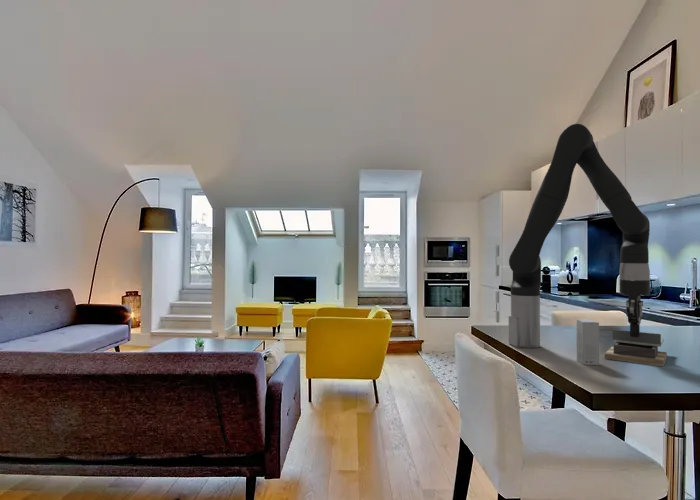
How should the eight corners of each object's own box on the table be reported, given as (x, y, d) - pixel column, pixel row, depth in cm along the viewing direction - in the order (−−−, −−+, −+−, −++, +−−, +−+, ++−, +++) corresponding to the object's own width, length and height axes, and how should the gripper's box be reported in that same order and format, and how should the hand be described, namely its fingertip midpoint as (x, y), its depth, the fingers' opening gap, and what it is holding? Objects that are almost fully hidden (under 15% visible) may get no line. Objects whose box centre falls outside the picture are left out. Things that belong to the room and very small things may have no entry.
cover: (660, 346, 122) (660, 334, 122) (612, 341, 130) (612, 329, 130) (663, 340, 131) (663, 328, 132) (618, 335, 139) (618, 325, 139)
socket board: (663, 366, 116) (663, 351, 116) (604, 358, 125) (604, 345, 125) (666, 357, 127) (666, 343, 127) (612, 350, 136) (612, 338, 136)
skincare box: (599, 365, 117) (599, 322, 117) (583, 364, 118) (582, 322, 118) (592, 360, 123) (591, 319, 123) (576, 359, 124) (575, 318, 124)
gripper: (623, 277, 133) (623, 332, 132) (615, 278, 123) (616, 338, 122) (652, 278, 128) (652, 335, 128) (647, 279, 118) (647, 341, 118)
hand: (634, 336), depth 125 cm, fingers closed
